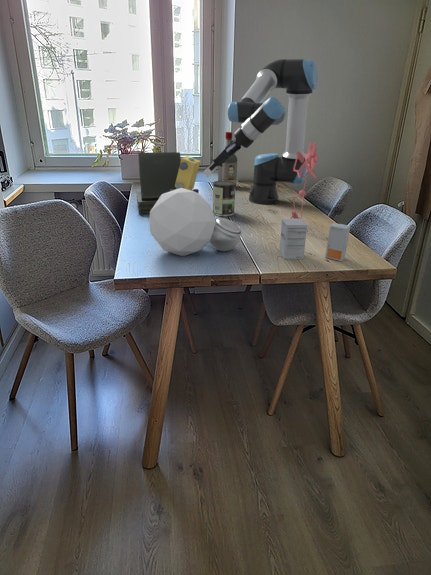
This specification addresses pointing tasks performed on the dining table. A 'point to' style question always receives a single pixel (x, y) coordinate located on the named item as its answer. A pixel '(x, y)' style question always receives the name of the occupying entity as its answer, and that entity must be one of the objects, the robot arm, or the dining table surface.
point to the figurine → (310, 167)
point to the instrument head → (188, 172)
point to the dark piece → (156, 177)
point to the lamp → (190, 224)
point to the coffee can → (223, 198)
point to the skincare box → (337, 241)
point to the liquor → (228, 164)
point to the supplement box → (293, 238)
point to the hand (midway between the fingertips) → (205, 174)
